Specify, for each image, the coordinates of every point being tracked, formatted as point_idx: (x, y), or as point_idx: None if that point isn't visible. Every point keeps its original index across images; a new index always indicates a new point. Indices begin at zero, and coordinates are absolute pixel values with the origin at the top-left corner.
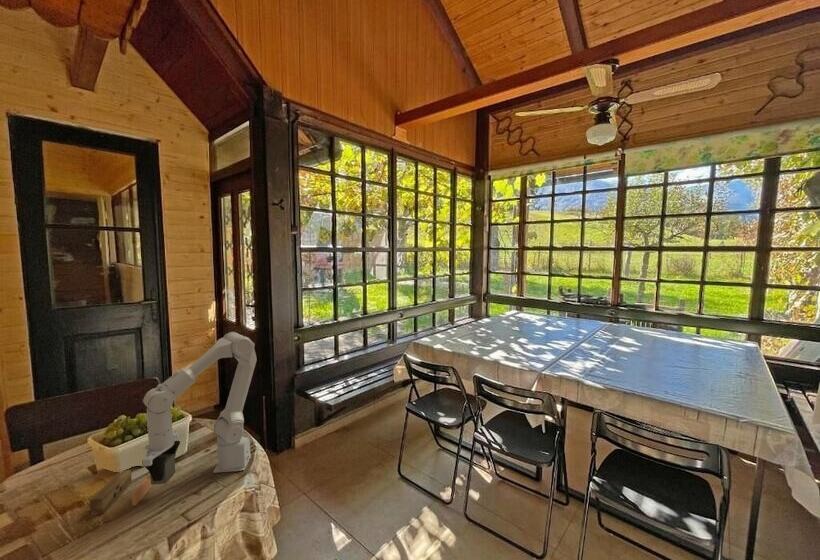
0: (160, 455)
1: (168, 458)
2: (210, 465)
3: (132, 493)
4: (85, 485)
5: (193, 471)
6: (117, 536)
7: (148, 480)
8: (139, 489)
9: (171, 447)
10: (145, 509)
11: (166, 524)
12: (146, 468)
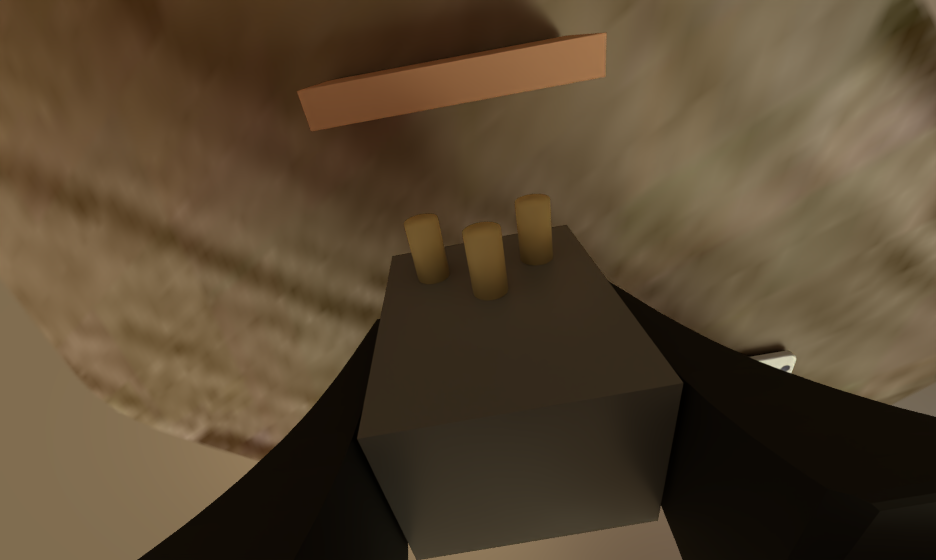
0: (643, 411)
1: (540, 530)
2: (733, 321)
3: (308, 97)
4: None
5: (696, 260)
6: (87, 210)
7: (533, 88)
8: (382, 117)
9: None
10: (327, 208)
11: (266, 385)
12: (245, 476)
